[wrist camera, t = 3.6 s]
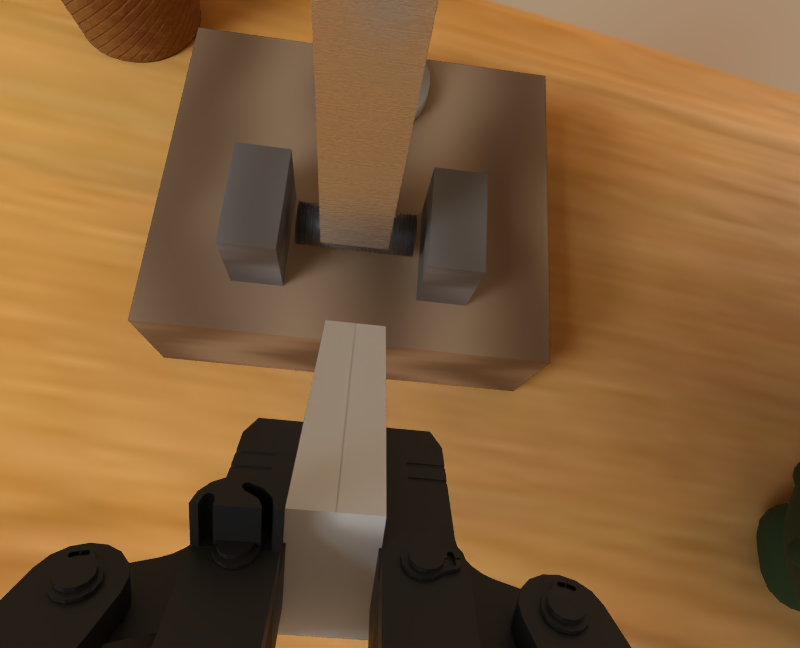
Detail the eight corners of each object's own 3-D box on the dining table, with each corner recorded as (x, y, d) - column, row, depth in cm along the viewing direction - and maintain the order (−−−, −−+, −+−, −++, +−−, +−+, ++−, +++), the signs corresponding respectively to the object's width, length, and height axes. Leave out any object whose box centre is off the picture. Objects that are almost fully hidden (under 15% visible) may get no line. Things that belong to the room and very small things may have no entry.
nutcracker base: (163, 357, 26) (95, 286, 19) (220, 95, 31) (183, -47, 24) (512, 391, 28) (582, 337, 20) (514, 134, 33) (570, 11, 25)
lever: (292, 277, 22) (196, -351, 6) (305, 190, 24) (250, -513, 8) (408, 290, 23) (589, -275, 7) (414, 203, 24) (578, -443, 8)
